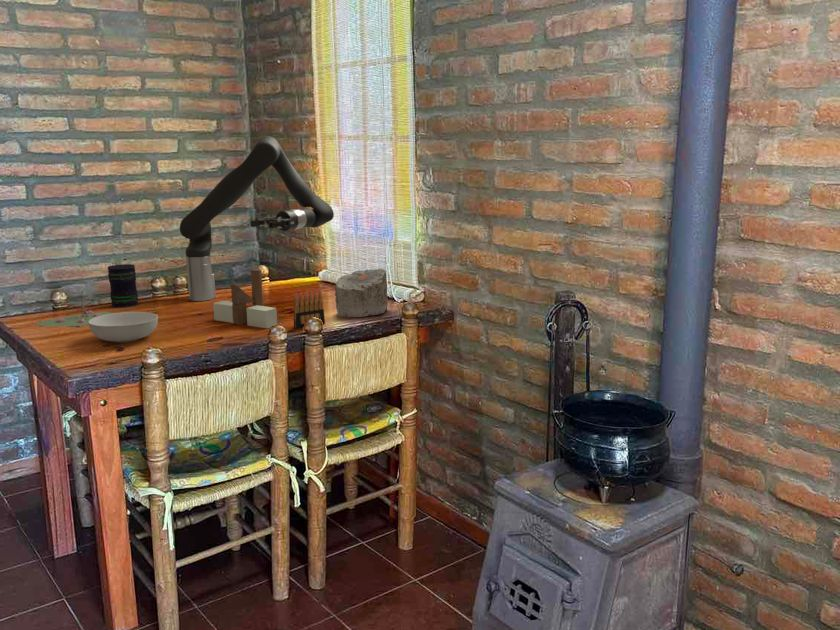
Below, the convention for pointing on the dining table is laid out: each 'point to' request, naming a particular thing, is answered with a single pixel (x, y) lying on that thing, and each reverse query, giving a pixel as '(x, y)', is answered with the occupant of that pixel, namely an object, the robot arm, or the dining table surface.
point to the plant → (73, 318)
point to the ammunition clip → (308, 308)
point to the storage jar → (123, 285)
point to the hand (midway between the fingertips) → (260, 224)
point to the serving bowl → (123, 326)
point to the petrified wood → (361, 293)
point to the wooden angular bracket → (246, 297)
